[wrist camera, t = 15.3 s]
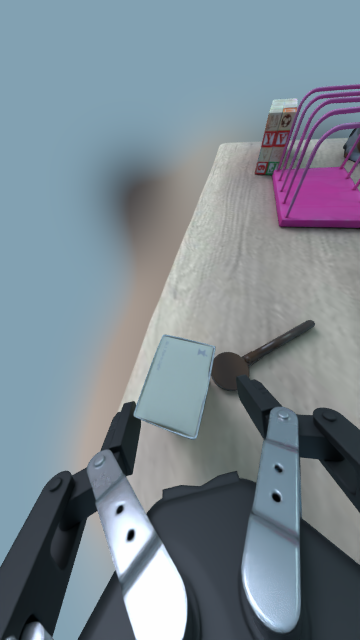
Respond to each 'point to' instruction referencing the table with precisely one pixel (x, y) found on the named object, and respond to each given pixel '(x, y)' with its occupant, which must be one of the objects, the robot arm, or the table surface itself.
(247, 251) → the table surface
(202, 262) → the table surface
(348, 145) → the lucky cat figurine
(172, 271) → the table surface
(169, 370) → the cosmetic box
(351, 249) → the table surface
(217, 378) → the spoon
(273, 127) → the stack of blocks
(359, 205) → the file sorter
